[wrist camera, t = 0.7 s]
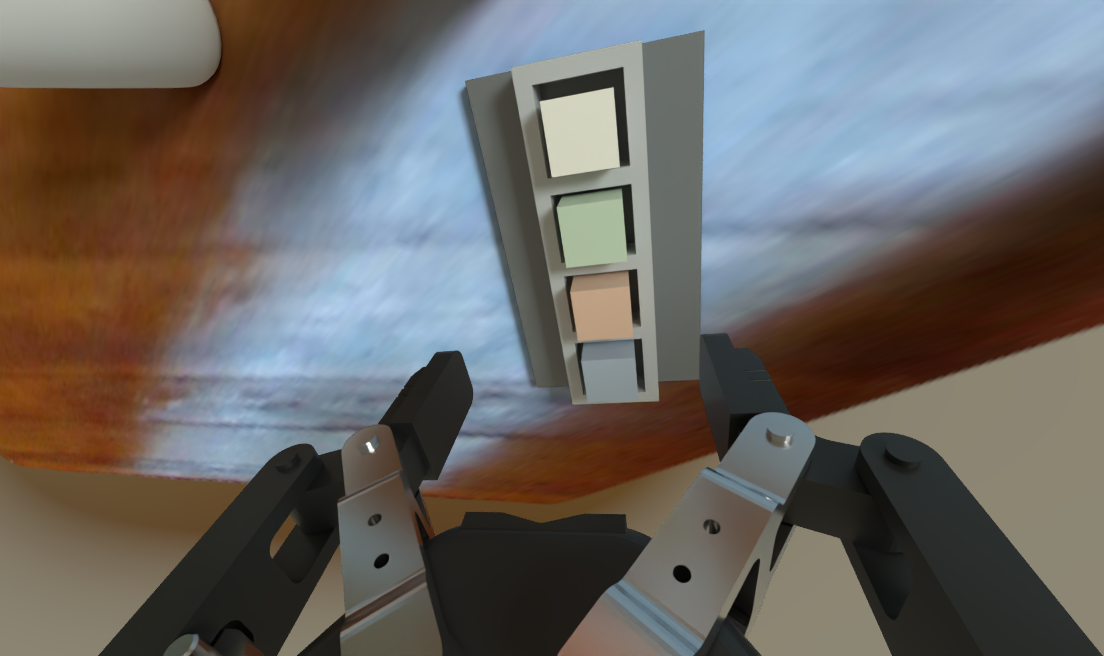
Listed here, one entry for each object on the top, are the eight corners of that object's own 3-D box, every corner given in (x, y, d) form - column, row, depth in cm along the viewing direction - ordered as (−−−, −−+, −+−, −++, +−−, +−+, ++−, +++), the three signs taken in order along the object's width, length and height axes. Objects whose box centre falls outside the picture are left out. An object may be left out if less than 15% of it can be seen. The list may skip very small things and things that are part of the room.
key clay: (628, 269, 28) (629, 286, 26) (631, 317, 30) (633, 337, 27) (573, 275, 29) (570, 292, 26) (580, 321, 31) (577, 341, 28)
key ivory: (613, 87, 23) (613, 87, 20) (619, 159, 25) (619, 167, 22) (547, 100, 23) (539, 101, 21) (557, 168, 25) (551, 177, 23)
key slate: (633, 336, 31) (635, 357, 28) (636, 376, 33) (638, 399, 30) (583, 340, 31) (581, 361, 29) (589, 379, 33) (587, 401, 31)
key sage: (621, 188, 25) (622, 198, 23) (626, 246, 27) (627, 261, 25) (562, 196, 26) (556, 207, 24) (570, 252, 28) (566, 268, 26)
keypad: (701, 32, 23) (714, 24, 20) (697, 372, 35) (705, 399, 32) (470, 81, 26) (451, 80, 23) (538, 380, 37) (532, 406, 34)
